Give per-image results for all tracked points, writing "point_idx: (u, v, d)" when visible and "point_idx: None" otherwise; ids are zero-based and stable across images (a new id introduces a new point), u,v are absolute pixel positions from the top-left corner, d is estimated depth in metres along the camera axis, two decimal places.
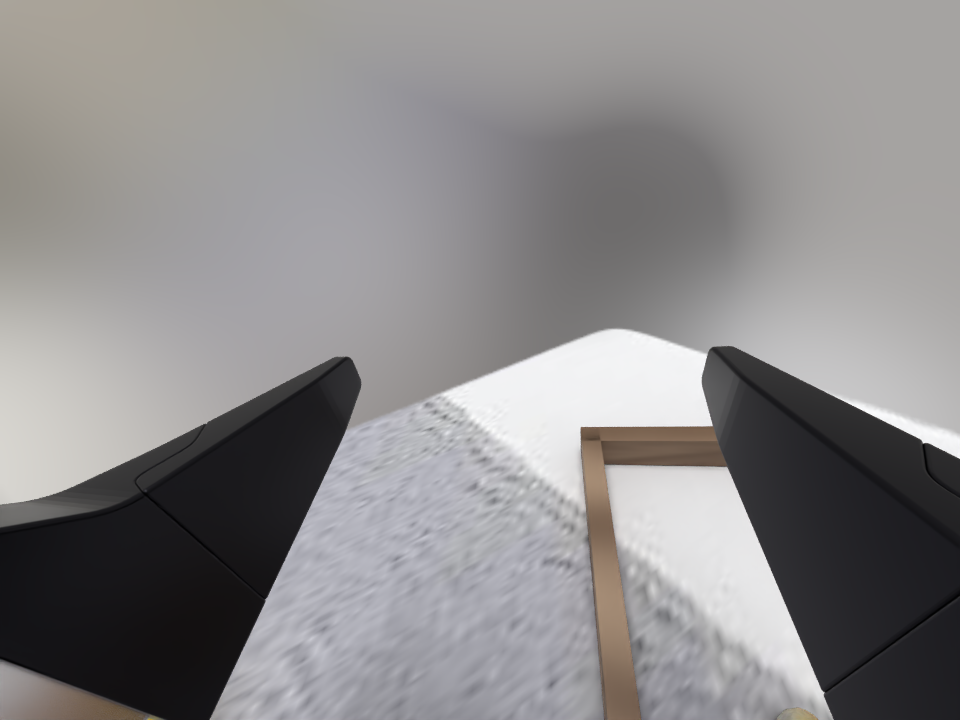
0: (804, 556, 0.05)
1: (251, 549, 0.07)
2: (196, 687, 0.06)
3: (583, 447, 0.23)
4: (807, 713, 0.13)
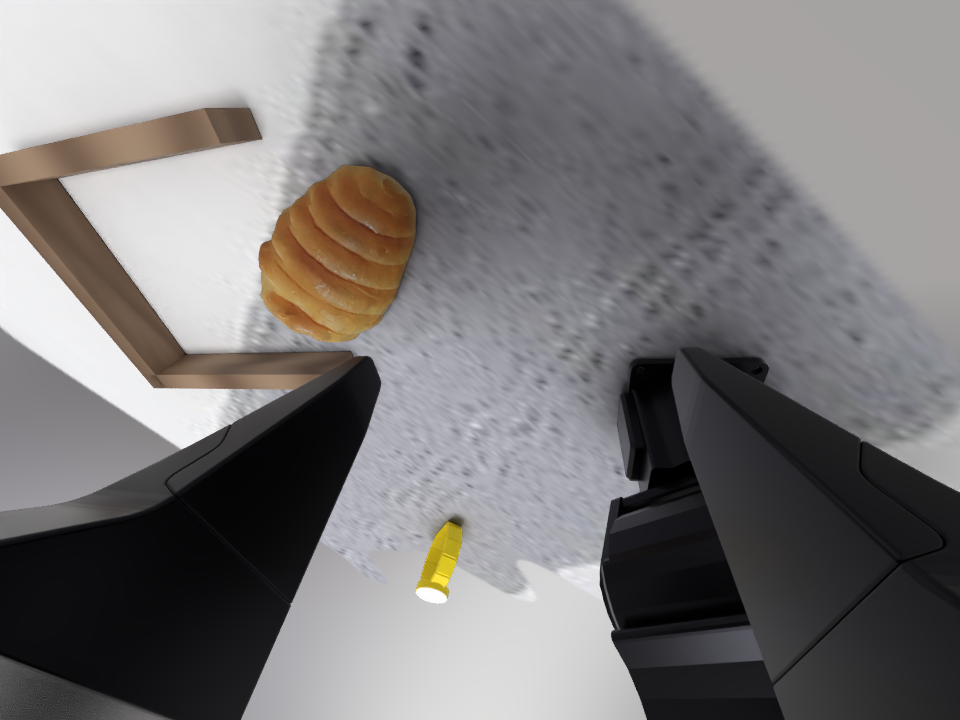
0: (754, 551, 0.05)
1: (277, 552, 0.07)
2: (225, 694, 0.06)
3: (172, 387, 0.25)
4: None
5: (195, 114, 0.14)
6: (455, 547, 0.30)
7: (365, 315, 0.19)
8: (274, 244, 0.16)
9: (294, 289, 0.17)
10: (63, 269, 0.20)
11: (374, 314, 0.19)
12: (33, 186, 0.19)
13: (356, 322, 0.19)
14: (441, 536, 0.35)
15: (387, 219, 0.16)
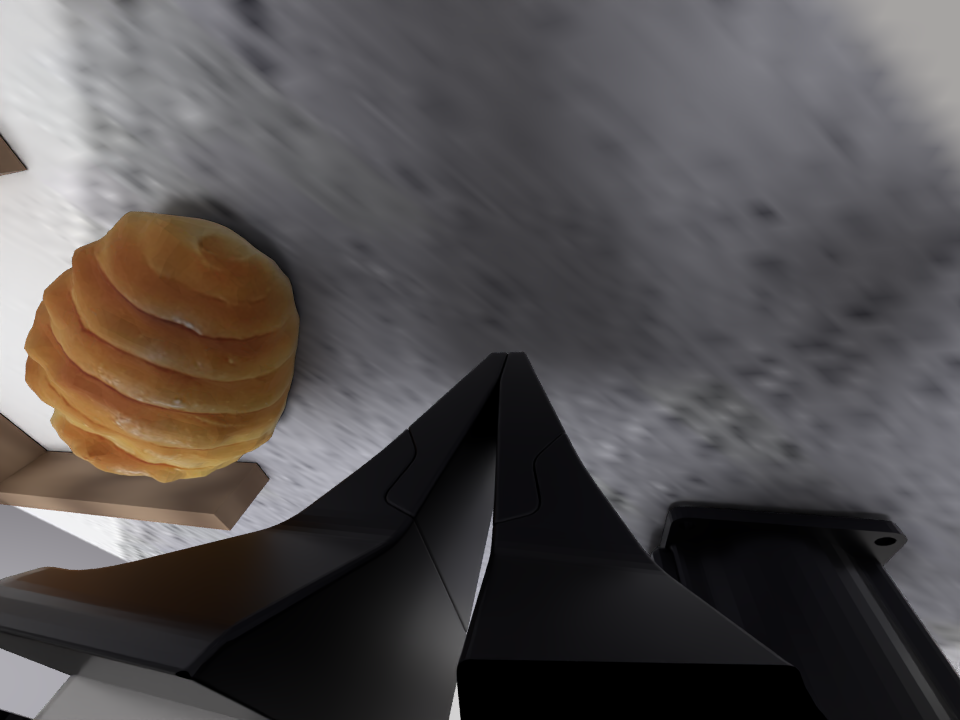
0: None
1: (462, 576, 0.06)
2: None
3: (16, 505, 0.18)
4: None
5: None
6: None
7: (229, 445, 0.11)
8: (28, 354, 0.09)
9: (84, 423, 0.10)
10: None
11: (246, 441, 0.12)
12: None
13: (215, 457, 0.11)
14: None
15: (218, 311, 0.08)
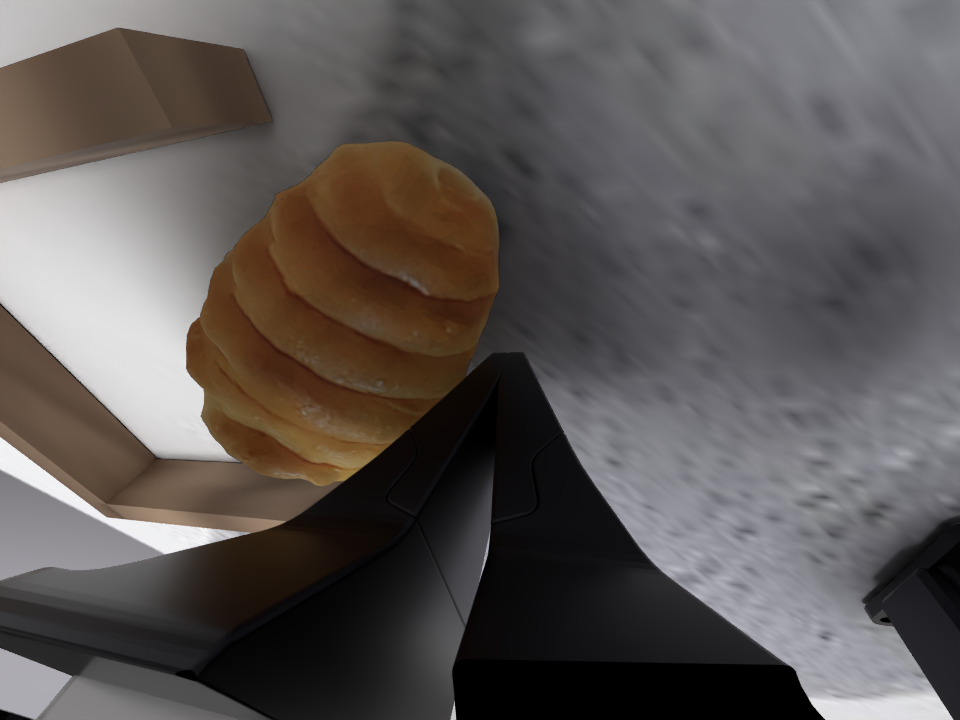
0: None
1: (464, 576, 0.06)
2: None
3: (133, 519, 0.16)
4: None
5: (98, 47, 0.05)
6: None
7: None
8: (205, 331, 0.08)
9: (258, 415, 0.08)
10: None
11: None
12: None
13: None
14: None
15: (452, 262, 0.07)
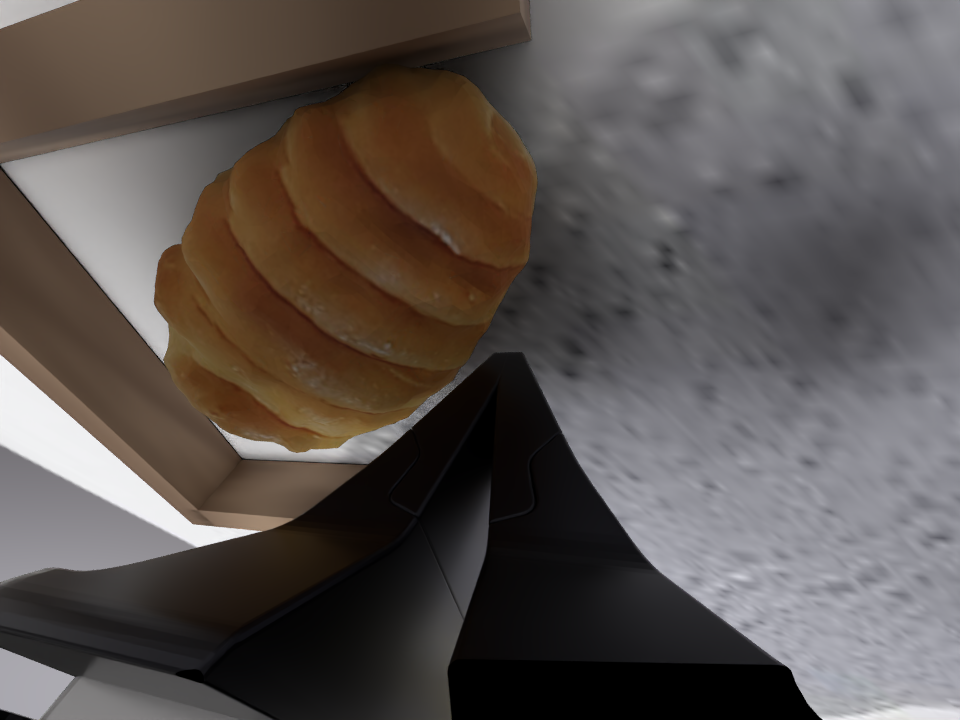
0: None
1: (466, 577, 0.06)
2: None
3: (225, 526, 0.15)
4: None
5: None
6: None
7: (394, 411, 0.09)
8: (187, 259, 0.06)
9: (239, 365, 0.07)
10: (21, 354, 0.10)
11: (411, 407, 0.09)
12: None
13: (374, 424, 0.09)
14: None
15: (491, 222, 0.06)
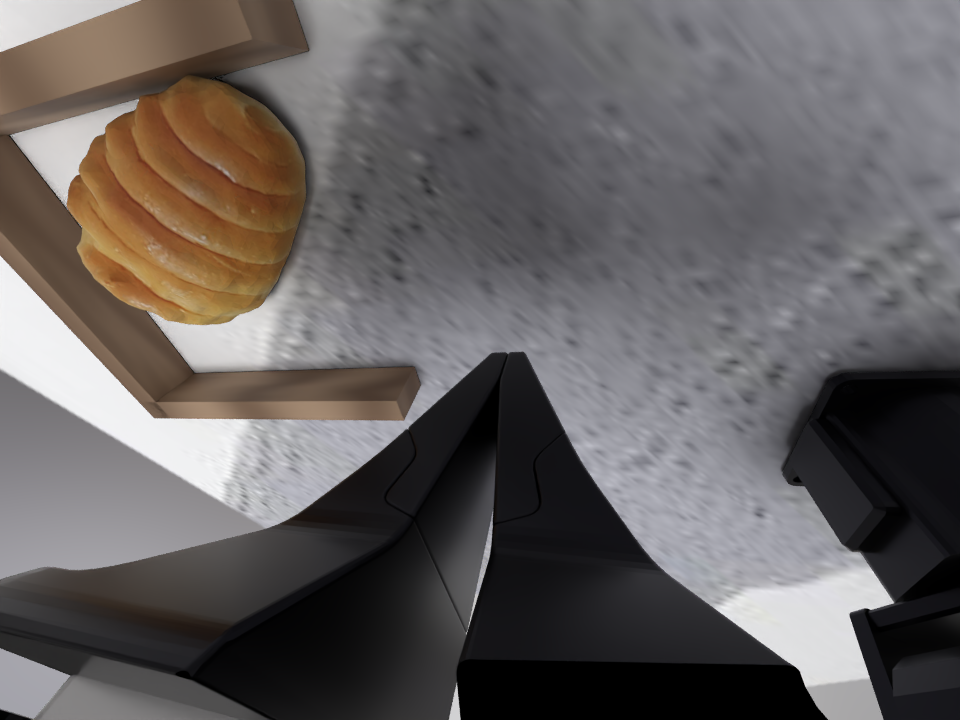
0: None
1: (462, 576, 0.06)
2: None
3: (177, 417, 0.19)
4: None
5: None
6: None
7: (231, 294, 0.14)
8: (81, 177, 0.11)
9: (118, 246, 0.12)
10: (23, 264, 0.15)
11: (246, 295, 0.14)
12: None
13: (218, 302, 0.14)
14: None
15: (251, 165, 0.11)
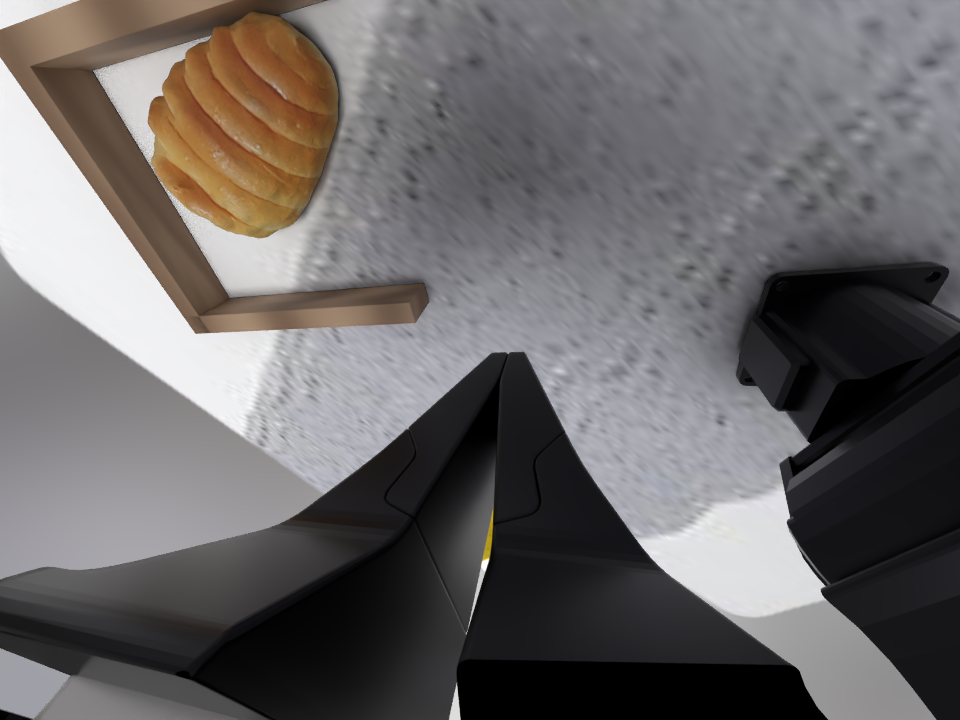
0: None
1: (462, 576, 0.06)
2: None
3: (216, 331, 0.22)
4: None
5: None
6: None
7: (274, 204, 0.17)
8: (164, 94, 0.14)
9: (188, 154, 0.15)
10: (100, 180, 0.17)
11: (285, 206, 0.17)
12: (66, 74, 0.16)
13: (263, 211, 0.17)
14: None
15: (299, 85, 0.14)
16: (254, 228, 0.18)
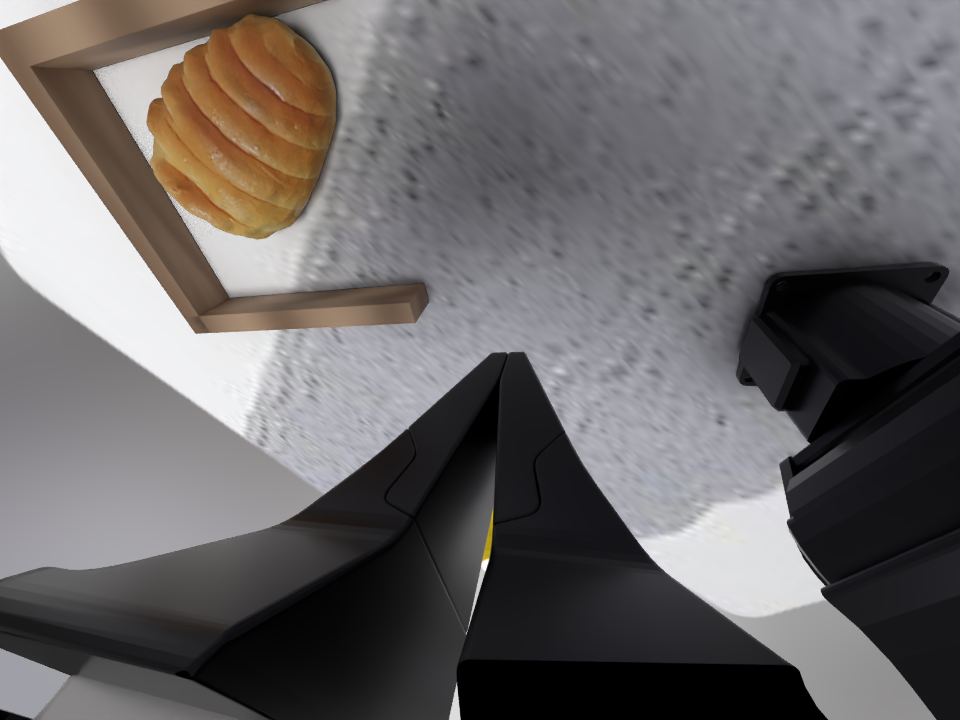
0: None
1: (462, 576, 0.06)
2: None
3: (216, 331, 0.22)
4: None
5: None
6: None
7: (273, 205, 0.17)
8: (163, 96, 0.14)
9: (187, 156, 0.15)
10: (100, 180, 0.17)
11: (284, 207, 0.17)
12: (66, 74, 0.16)
13: (261, 212, 0.17)
14: None
15: (297, 87, 0.14)
16: (253, 229, 0.18)
